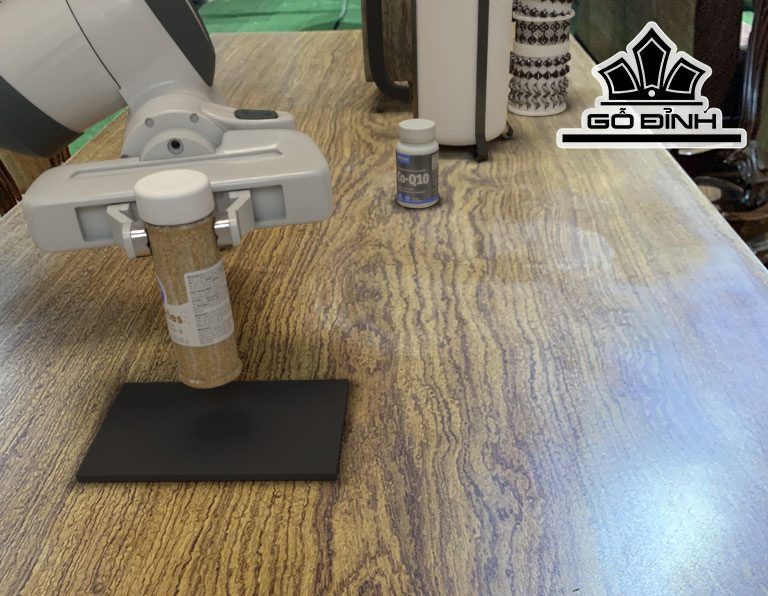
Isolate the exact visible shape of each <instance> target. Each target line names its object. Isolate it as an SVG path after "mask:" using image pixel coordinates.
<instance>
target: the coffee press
mask: <svg viewBox="0 0 768 596" xmlns="http://www.w3.org/2000/svg"><path fill="white" fill-rule="evenodd" d="M512 3H513V0H411V26H412V75H413V87H409V85H407V86H406V85H400V84H397V83H395V82H394V83H393V82H392V81H391V80H390V78H389V77H388V75H387V73H386V70H385V65H384V49H383V25H382V0H366V12H367V35H368V53H369V64H370V70H371V74H372V78H373V80H374V82H373V83H374V85H375V86H376V87H377V89H378V90H379V92H380V93H381V92H382V93H383V94H384V95H385V97H387V98H388V99H391V100H396V101H400V102H406V103H410V104H411V110H412V114H413V115H412V119H427V120H431V121H433V122H435V130H436V135H435V138H434V140H436V141H437V143H438V145H442V146H453V147H454V146H456V147H458V146H469V147H470V149H471V151H472V154H473V158H474V160H475V161H476V162H478V161H485V160H488V158H489V148H488V143H487V142H490V141H492V140H495V139H496V138H498V137H499V136H500V137H501V138H503V139H504V140H509V139H511V138H512V137H513V135H514V129H513V127H512V125H511V123H509V121H508V104H509V103H508V101H509V99H508V94H509V86H508V85H509V81H510V71H509V65H511V64H510V51H511V42H512V41H511V40H512V21H513V16H512V15H513V6H512ZM506 128H507V132H506V133H505V134H502V133H503V132H504V130H505V129H506Z"/></svg>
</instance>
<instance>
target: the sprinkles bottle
mask: <svg viewBox="0 0 768 596" xmlns="http://www.w3.org/2000/svg"><path fill="white" fill-rule="evenodd" d="M134 195H135V200H136V204H137V208H138V212H139V216H140V218H141V219H142V221H143V223H144V225H145V227H146V231H147V235H148V239H149V244H150V247H151V251H152V256H151V257H152V261H153V265H154V269H155V277H156V282H157V286H158V289H159V293H160V299H161V302H162V307H163V311H164V315H165V320H166V324H167V328H168V329H167V330H168V334H169V337H170V339H171V342H172V346H173V352H174V354H175V359H176V364H177V370H176V371H177V376H178V379H179V380H180V382H183V383H184V384H186V385H188V386H191V387H193V388H204V389H208V388H214V387H217V386H221V385H224V384H226V383H229V382H231V381H235V380H236V379H237V378H238V377H239V376H240V374H241V373H242V370H243V363H242V360H241V358H240V357H239V352H238V351H239V350H238V344H237V339H236V335H235V322H234V316H233V310H232V305H231V299H230V293H229V289H228V288H229V286H228V283H227V277H226V271H225V266H224V260H223V255H222V253H221V250H220V248H219V249H218V245H217V240H216V237H217V235H216V234H215V229H214V223H213V219H214V218H213V216H214V210H213V209H214V200H213V194H212V190H211V185H210V181H209V178H208V177H207V176H206V175H205V174H203V173H201V172H198V171H194V170H187V169H176V170H167V171H161V172H157V173H153V174H150V175H148V176H146V177H144V178H142V179H140V180H139V181H138V182H137V183H136V184H135V186H134Z"/></svg>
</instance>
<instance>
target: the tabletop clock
mask: <svg viewBox="0 0 768 596" xmlns="http://www.w3.org/2000/svg"><path fill="white" fill-rule="evenodd" d="M360 17H361V18H360V19H361V37H362V54H363V68H364V79H365V82H366V83H375V82H374V80H373V78H372V74H371V70H370V64H369V53H368V35H367V12H366V0H360ZM382 25H383V49H384V65H385V70H386V73H387V75H388V77H389V78H390V80H391V81H392V82H393V83H395V82H407V84H408V87H413V75H412V26H411V0H382ZM385 98H386V95H384V94H383V93H382V92H381V91H380V96H379V98H378V99H376V100H374V103H373V107H374V109H375V110H376V111H377V112H381V111H384V109H385V107H386V104H385V103H386V102H385V101H384V99H385Z"/></svg>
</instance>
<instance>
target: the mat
mask: <svg viewBox="0 0 768 596" xmlns="http://www.w3.org/2000/svg"><path fill="white" fill-rule="evenodd" d="M349 389H350V380H349V378H334V379H329V378H327V379H324V378H323V379H267V380H265V379H262V380H233V381H231V382H229V383H226V384H224V385H221V386H217V387H214V388H208V389H204V388H193V387H191V386H188V385H186V384H184V383H183V382H182V381H144V382H143V381H142V382H141V381H139V382H138V381H137V382H131V381H130V382H123V384H122V385H121V387H120V389H119V391H118V393H117V395H116V397H115V399H114V401H113V402H112V404H111V406H110V409H109V410H108V412H107V414H106V416H105V418H104V420H103V422H102V423H101V425H100V427H99V429H98V431H97V433H96V436H95V437H94V439H93V440H92V443H91V445H90V446H89V448H88V450H87V452H86V454H85V455H84V458H83V460H82V462H81V464H80V465H79V467H78V469H77V471H76V473H75V479H76V481H77V482H78V483H93V482H95V483H96V482H97V483H98V482H100V483H101V482H102V483H103V482H107V483H108V482H113V483H114V482H214V481H215V482H216V481H217V482H218V481H221V482H223V481H225V482H226V481H227V482H228V481H231V482H232V481H233V482H234V481H331V480H332V481H333V480H337V478H338V471H339V464H340V457H341V450H342V442H343V435H344V426H345V420H346V413H347V405H348V397H349Z"/></svg>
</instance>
